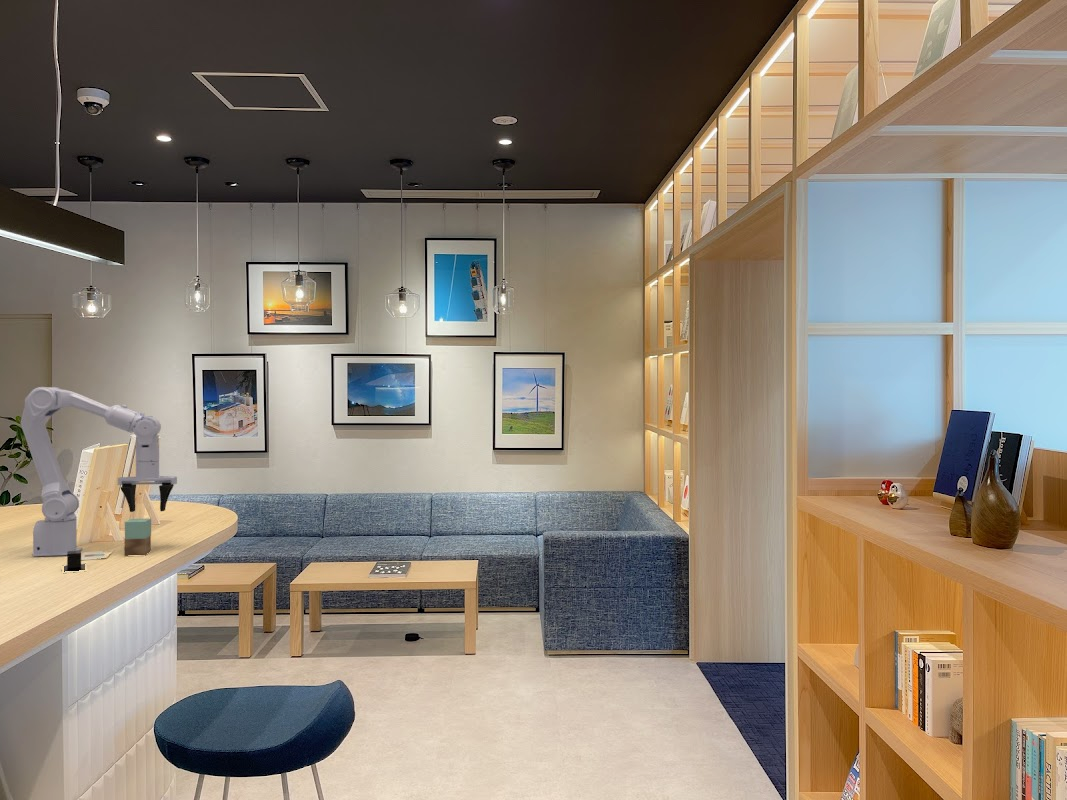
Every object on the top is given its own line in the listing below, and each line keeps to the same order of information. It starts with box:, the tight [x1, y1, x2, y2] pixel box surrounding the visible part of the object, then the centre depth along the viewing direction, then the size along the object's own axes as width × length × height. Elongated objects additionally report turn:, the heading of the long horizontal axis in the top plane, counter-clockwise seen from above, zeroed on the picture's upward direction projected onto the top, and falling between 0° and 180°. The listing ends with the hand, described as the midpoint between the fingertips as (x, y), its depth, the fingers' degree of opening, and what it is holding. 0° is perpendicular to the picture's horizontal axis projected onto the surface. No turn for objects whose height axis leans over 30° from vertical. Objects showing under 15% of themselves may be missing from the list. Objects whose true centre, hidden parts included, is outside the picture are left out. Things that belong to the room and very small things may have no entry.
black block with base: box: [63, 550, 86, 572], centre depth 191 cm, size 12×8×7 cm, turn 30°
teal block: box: [124, 518, 152, 540], centre depth 207 cm, size 5×5×4 cm
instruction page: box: [81, 550, 109, 561], centre depth 204 cm, size 7×10×1 cm
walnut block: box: [124, 535, 152, 557], centre depth 207 cm, size 5×5×4 cm
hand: (147, 511), depth 212 cm, fingers open, 7 cm apart
